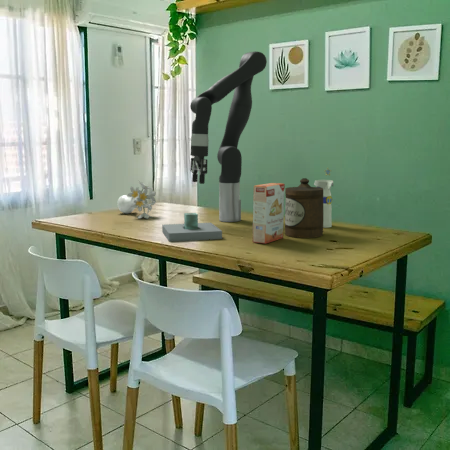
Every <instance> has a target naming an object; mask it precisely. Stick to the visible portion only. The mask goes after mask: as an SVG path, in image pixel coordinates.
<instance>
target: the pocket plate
mask: <svg viewBox="0 0 450 450" xmlns="http://www.w3.org/2000/svg"><path fill="white" fill-rule="evenodd" d="M161 229H162V230H161V231H162V233H163V235H164V236H165V238H166V239H167V240H168V242H184V241H185V242H186V241H187V242H189V241H205V240H206V241H207V240H209V239H210V240H222V239H223V231H222V229H221V228H219V227H218V226H216V225H215V224H213V223H212V222H198V229H184V223H173V224H172V223H169V224H168V223H167V224H166V223H165V224H162V226H161Z"/></svg>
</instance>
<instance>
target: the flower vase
mask: <svg viewBox="0 0 450 450" xmlns="http://www.w3.org/2000/svg"><path fill="white" fill-rule="evenodd" d="M138 183H139V184H140V187H141V190H140V187H139V186H137V187H136V188H134V186H130V192H129V193H128V194H123V195H120V196H119V198H118V199H117V203H116V204H117V208H118V210H119V211H120V212H121V213H123V214H127V215H128V214H131V213H132V212H133V211H134V210H135V209H136V208H137V211H139V212H141V211H142V210H143V213H141V214H139V215H138V216H137V219H142V218H144V219H149V218H153V216H152V215H149V212H151V211H152V209H153V206H154V205H155V204H156V203H157V202H156V199H155V196H156V191H154V190H153V189H154V188H153V186H152V187H151V186H147V185H146V184H145V183H144V182H142V181H139V180H138ZM149 190H150V192H149ZM148 192H149V194H148ZM148 200H150V201H151V202H150V203H148ZM145 209H147V213H146V211H145Z"/></svg>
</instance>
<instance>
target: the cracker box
mask: <svg viewBox="0 0 450 450" xmlns="http://www.w3.org/2000/svg"><path fill="white" fill-rule="evenodd" d="M285 189H286V188H285V183H282V182H270V183H268V182H267V183H264V184H256V185H253V197H252V198H253V202H252V204H253V208H252V243H257V244H264V245H266V244H270V243H272V242H274V241H278V240H281V239H284V222H285Z"/></svg>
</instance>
